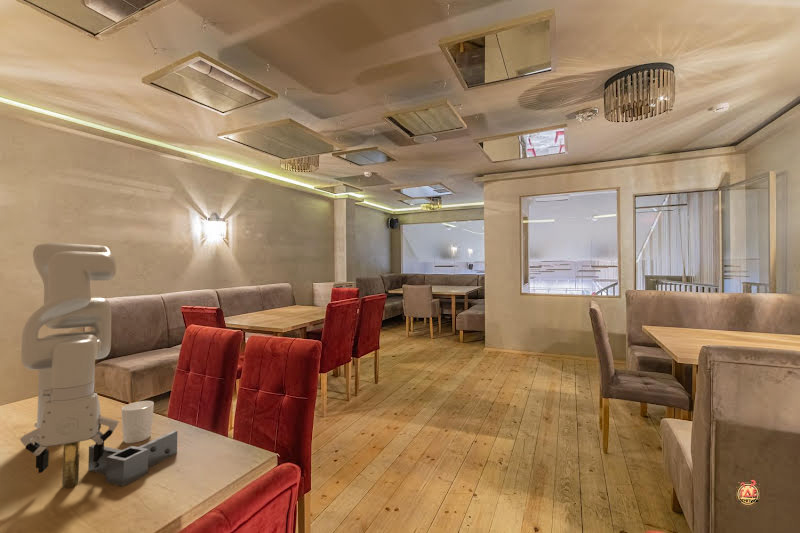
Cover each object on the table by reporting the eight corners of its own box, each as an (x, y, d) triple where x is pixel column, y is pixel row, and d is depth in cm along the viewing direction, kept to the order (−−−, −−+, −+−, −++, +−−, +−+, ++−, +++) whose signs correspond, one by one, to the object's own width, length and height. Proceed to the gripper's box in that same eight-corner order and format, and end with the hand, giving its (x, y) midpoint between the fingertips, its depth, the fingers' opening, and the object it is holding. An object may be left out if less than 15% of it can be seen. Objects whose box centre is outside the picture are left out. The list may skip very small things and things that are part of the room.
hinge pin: (54, 488, 81) (56, 431, 81) (74, 478, 84) (76, 424, 85) (65, 491, 79) (67, 433, 80) (85, 481, 83) (87, 426, 84)
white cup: (135, 445, 101) (136, 411, 101) (113, 443, 102) (114, 409, 103) (159, 433, 109) (160, 401, 109) (138, 431, 110) (139, 399, 110)
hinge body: (77, 475, 86) (78, 450, 86) (141, 445, 101) (142, 425, 101) (123, 486, 81) (123, 460, 81) (183, 453, 96) (183, 432, 96)
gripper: (14, 402, 75) (11, 483, 74) (115, 390, 83) (113, 462, 83) (30, 393, 82) (28, 466, 81) (122, 382, 90) (120, 449, 89)
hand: (71, 464), depth 82 cm, fingers open, 9 cm apart
